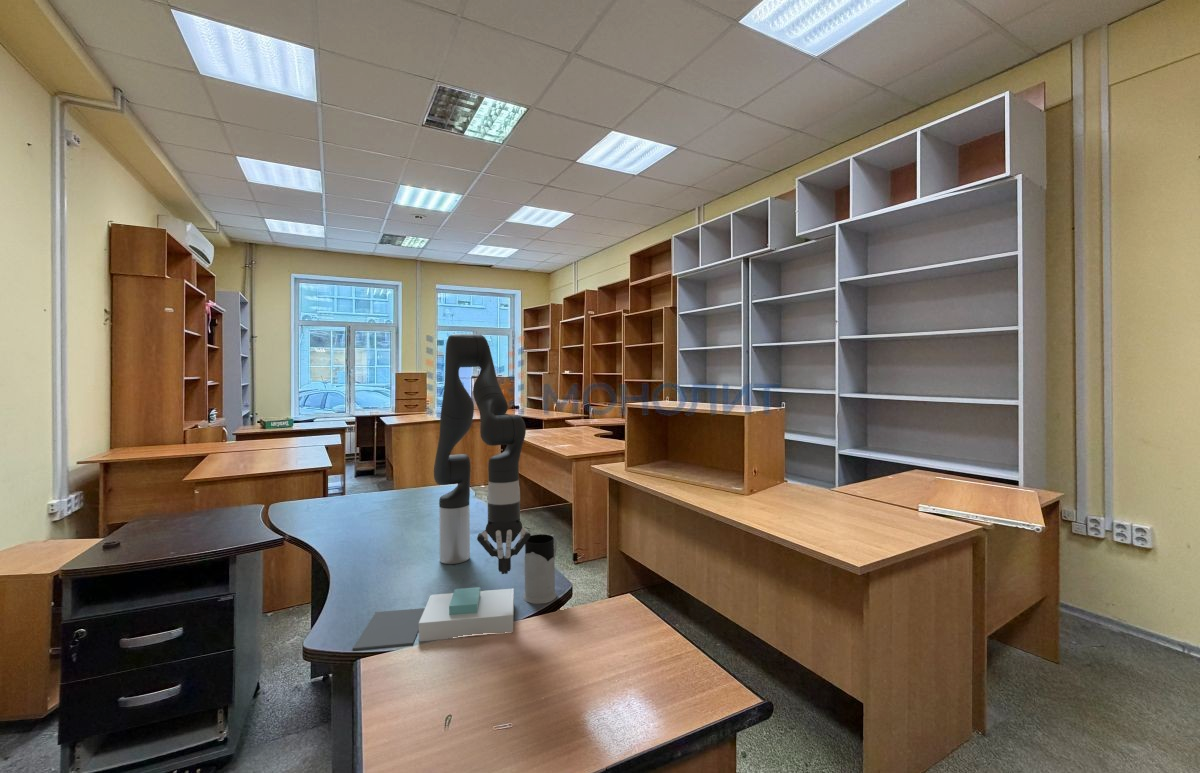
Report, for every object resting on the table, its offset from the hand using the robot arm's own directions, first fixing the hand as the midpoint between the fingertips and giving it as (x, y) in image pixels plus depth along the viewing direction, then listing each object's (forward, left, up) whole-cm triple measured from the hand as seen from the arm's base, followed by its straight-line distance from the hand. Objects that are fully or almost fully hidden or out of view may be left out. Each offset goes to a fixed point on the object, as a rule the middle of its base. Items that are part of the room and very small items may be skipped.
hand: (504, 572), depth 112 cm
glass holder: (-13, +10, -11) cm, 20 cm away
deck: (0, -8, -11) cm, 14 cm away
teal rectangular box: (0, -9, -7) cm, 11 cm away
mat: (0, -25, -11) cm, 27 cm away
